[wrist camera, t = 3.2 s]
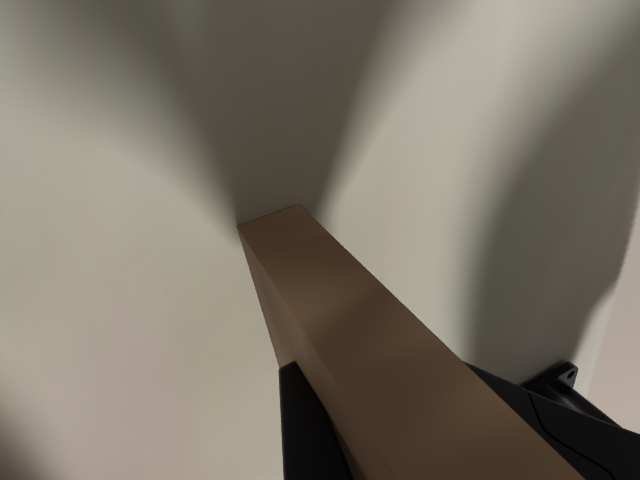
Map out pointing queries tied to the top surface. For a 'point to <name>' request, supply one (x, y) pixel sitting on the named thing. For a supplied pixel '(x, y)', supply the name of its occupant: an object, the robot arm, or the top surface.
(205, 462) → the top surface
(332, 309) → the domino
